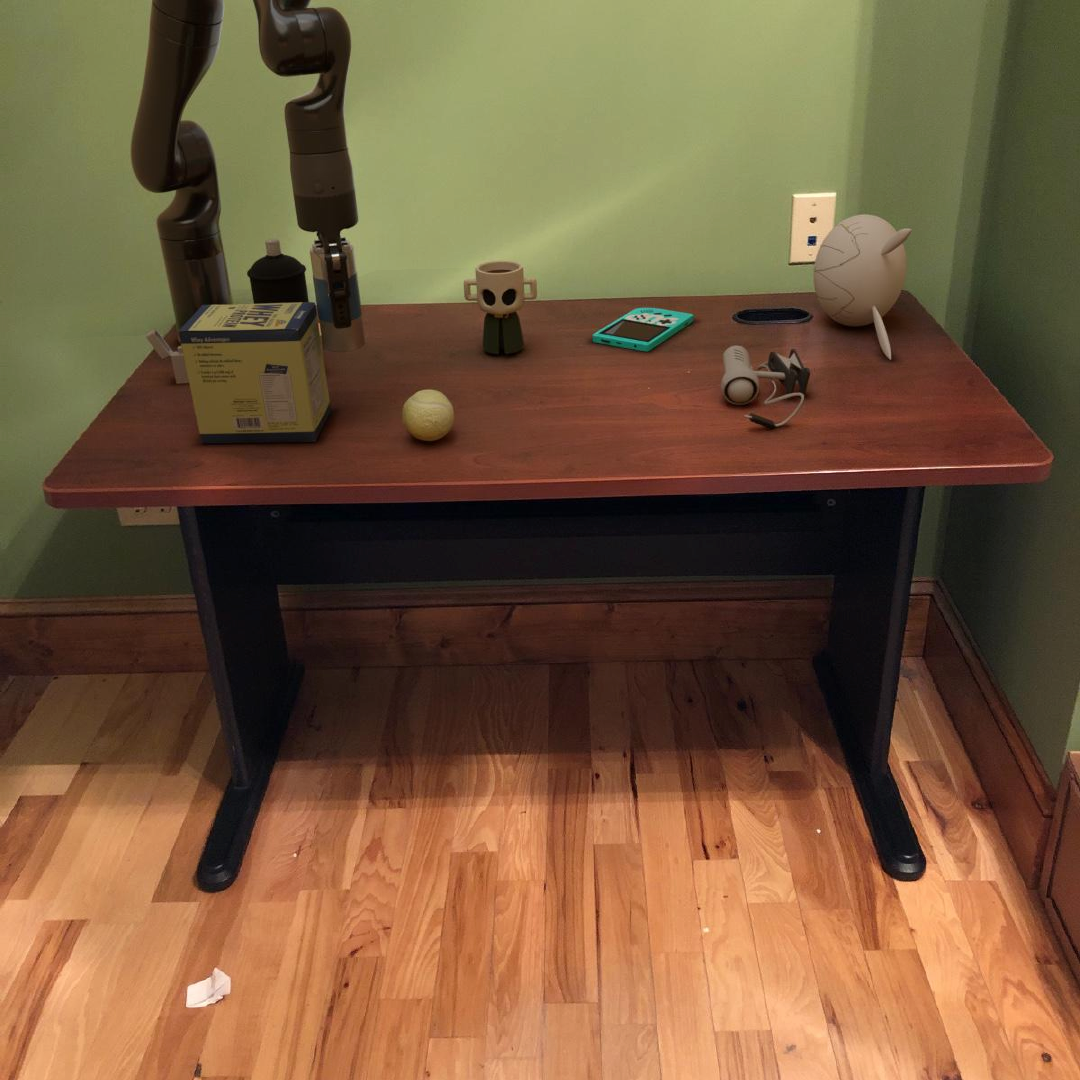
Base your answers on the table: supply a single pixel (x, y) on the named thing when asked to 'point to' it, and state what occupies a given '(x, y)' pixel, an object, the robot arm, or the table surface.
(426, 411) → the tennis ball
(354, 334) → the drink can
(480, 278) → the character mug
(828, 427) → the table surface
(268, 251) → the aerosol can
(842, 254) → the beige egg-shaped piece
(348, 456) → the table surface
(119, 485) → the table surface
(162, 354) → the lighter
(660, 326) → the handheld game console
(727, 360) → the clip-on lamp
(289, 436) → the protein box
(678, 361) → the table surface
